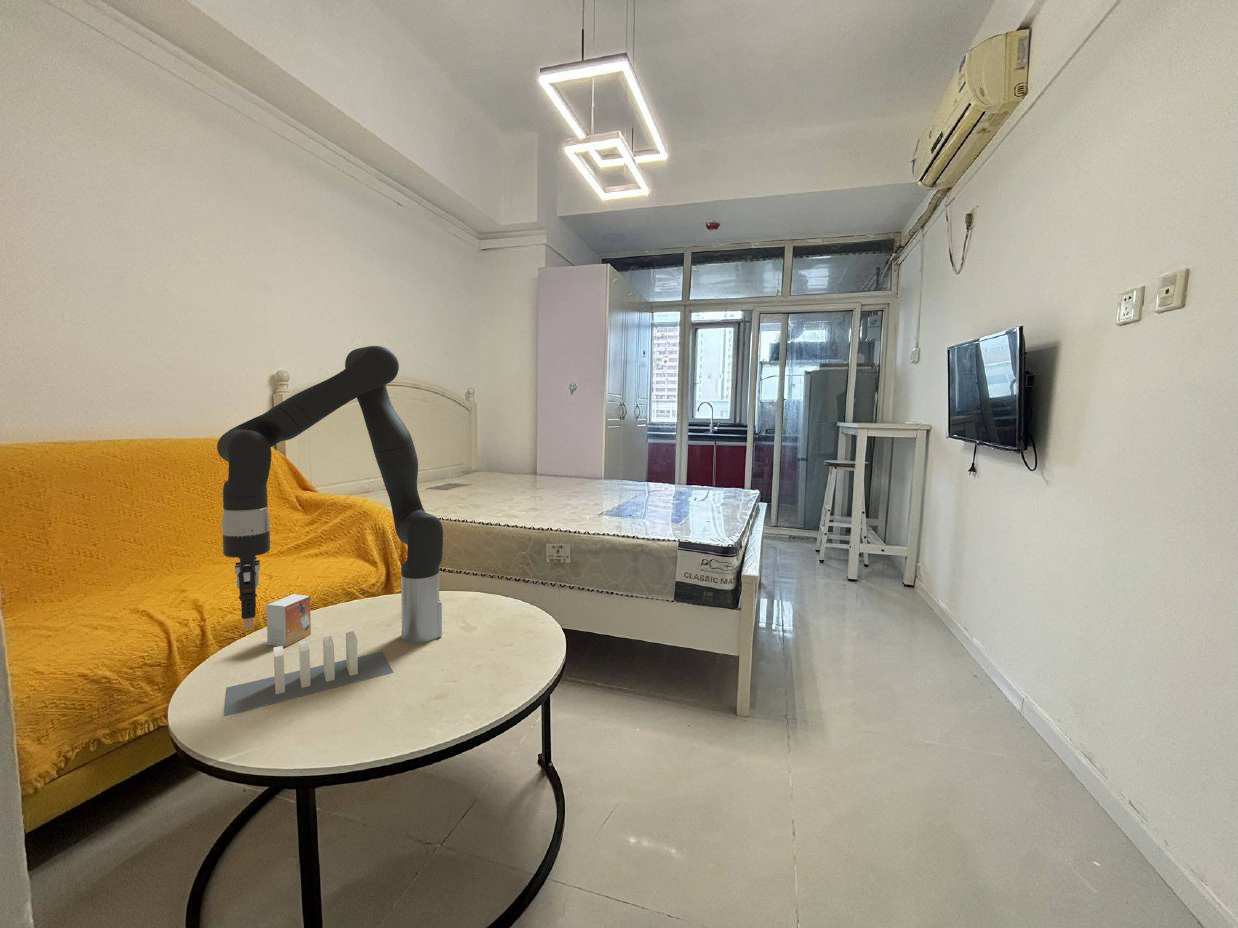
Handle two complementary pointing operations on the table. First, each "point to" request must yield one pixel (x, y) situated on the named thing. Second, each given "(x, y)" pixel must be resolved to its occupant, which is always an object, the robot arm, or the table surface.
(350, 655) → the domino
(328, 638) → the domino
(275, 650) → the domino
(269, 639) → the small box
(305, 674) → the domino
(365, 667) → the mat
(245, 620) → the domino
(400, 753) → the table surface
